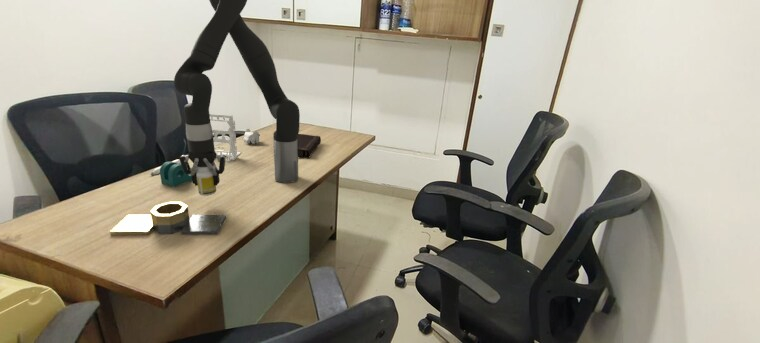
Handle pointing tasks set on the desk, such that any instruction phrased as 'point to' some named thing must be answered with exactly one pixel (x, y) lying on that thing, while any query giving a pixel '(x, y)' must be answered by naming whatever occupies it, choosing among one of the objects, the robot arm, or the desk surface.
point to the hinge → (169, 222)
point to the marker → (157, 170)
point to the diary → (307, 145)
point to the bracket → (173, 174)
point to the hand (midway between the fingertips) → (206, 184)
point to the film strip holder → (231, 140)
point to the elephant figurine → (251, 137)
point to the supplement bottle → (205, 181)
